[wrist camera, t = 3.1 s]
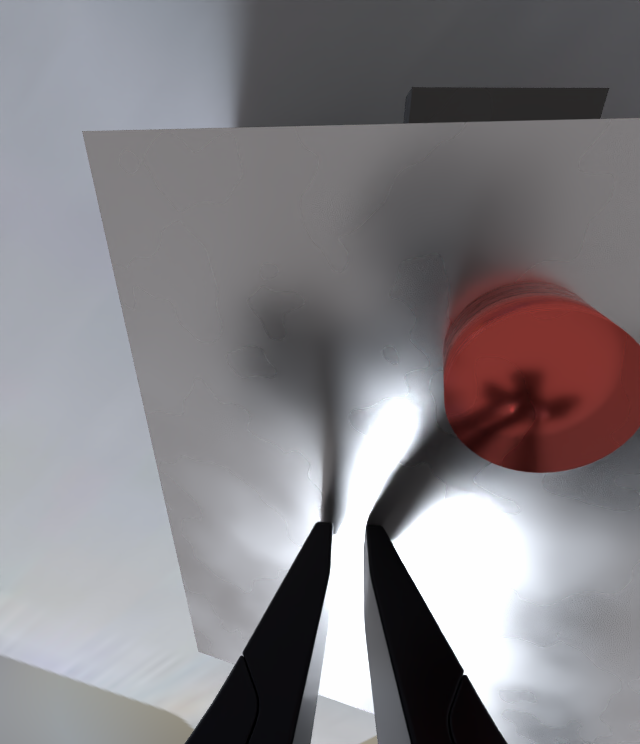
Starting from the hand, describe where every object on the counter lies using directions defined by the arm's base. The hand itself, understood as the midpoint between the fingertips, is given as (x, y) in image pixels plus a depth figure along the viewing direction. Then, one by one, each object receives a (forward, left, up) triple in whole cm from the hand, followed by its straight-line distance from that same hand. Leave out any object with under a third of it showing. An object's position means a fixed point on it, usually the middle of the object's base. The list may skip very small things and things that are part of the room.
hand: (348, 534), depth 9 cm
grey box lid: (0, -5, 0) cm, 5 cm away
